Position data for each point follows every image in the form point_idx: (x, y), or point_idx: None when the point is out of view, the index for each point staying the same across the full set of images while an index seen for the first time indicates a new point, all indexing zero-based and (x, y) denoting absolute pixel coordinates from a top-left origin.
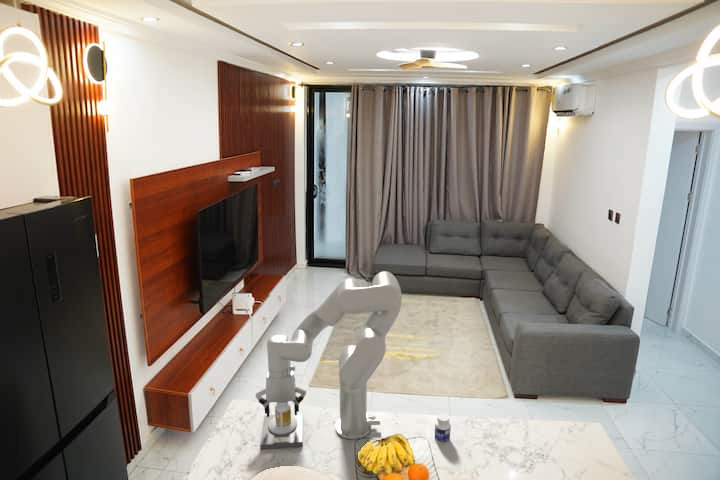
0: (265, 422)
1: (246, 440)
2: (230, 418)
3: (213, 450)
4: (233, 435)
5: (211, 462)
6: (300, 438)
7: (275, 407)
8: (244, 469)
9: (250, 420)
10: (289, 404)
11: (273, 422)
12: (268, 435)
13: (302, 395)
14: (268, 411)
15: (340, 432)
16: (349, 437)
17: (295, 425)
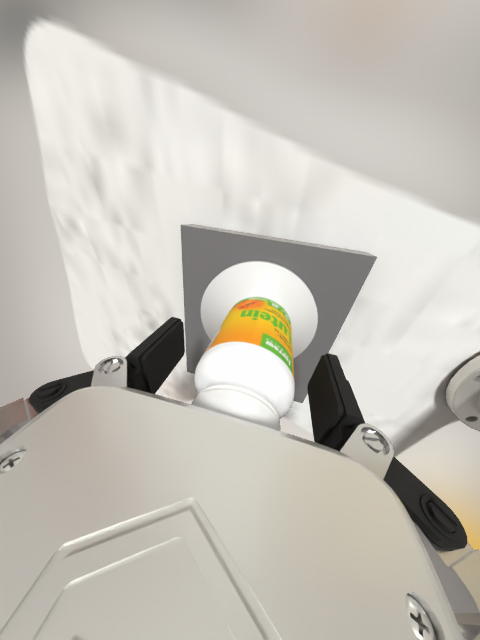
0: (190, 278)
1: (152, 316)
2: (56, 170)
3: (88, 325)
4: (110, 283)
5: (102, 356)
6: (301, 391)
7: (196, 389)
8: (170, 392)
9: (137, 208)
10: (289, 405)
11: (219, 303)
12: (206, 347)
13: (447, 591)
14: (167, 375)
15: (458, 404)
16: (469, 426)
17: (302, 348)
